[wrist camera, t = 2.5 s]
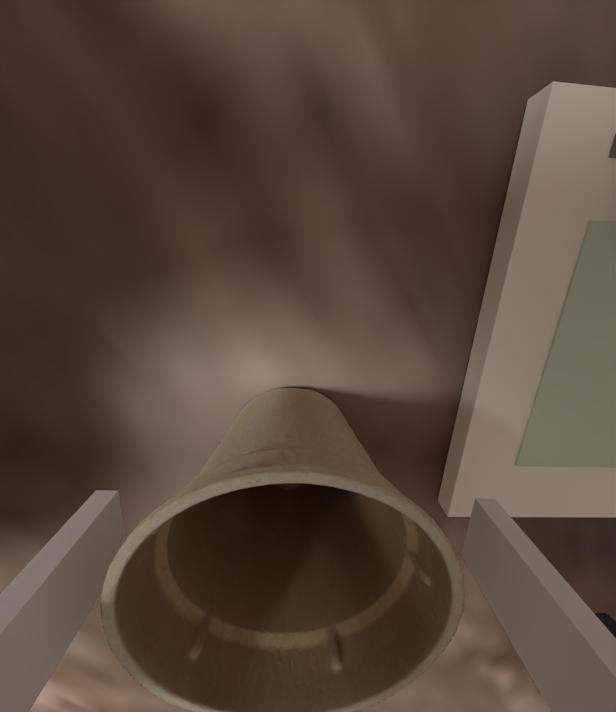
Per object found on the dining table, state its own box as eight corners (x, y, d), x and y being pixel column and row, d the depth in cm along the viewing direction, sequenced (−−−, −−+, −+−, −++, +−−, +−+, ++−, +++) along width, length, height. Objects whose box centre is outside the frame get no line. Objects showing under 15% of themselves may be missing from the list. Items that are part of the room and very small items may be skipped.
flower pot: (328, 527, 18) (359, 753, 10) (178, 476, 16) (59, 693, 8) (408, 399, 16) (539, 549, 7) (242, 325, 14) (169, 409, 6)
